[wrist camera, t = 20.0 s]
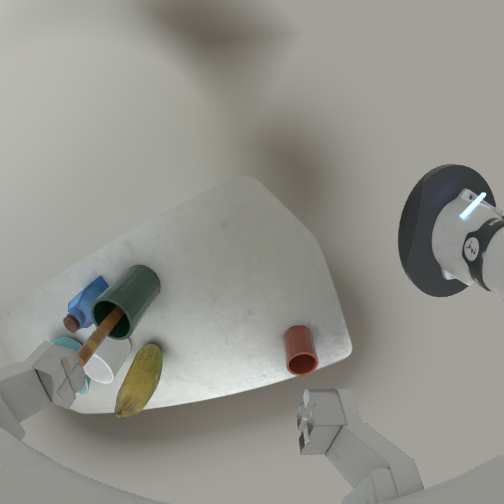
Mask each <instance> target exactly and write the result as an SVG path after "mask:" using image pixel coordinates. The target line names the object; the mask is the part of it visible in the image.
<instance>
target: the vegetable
mask: <svg viewBox="0 0 504 504" xmlns="http://www.w3.org/2000/svg"><path fill="white" fill-rule="evenodd" d="M161 371H162V352H161V350H160V348H159V347H158V346H157V345H155V344H147V345H145V346H143V347H142V348H141V349H140V350H139V351H138V353H137V354H136V356H135V358H134V361H133V363H132V365H131V366H130V369H129V371H128V373H127V375H126V377H125V379H124V382H123V384H122V386H121V388H120V390H119V392H118V395H117V400H116V406H115V415H116V416H117V417H118V418H120V419H126V418H128V417H130V416H132V415H135V414H137V413H139V412H140V411H141V410H142V409H143V408H144V407H145V405H146V404H147V402H148V401H149V399H150V398H151V396H152V395H153V393H154V391H155V390H156V388H157V385H158V382H159V380H160V375H161Z"/></svg>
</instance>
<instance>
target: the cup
mask: <svg viewBox="0 0 504 504" xmlns="http://www.w3.org/2000/svg"><path fill="white" fill-rule="evenodd" d="M159 292H160V282H159V279H158V277H157V276H156V274H155V273H154V272H153V271H152V270H151V269H149V268H148V267H146V266H142V265H135V266H132V267H131V268H129V269H128V270H127V271H126V272H125V273H123V274H122V275H121V276H120V277H119V278H118V279H117V280H116V281H115V282H114V283H113V284H112V285H111V286H110V287H108V288H107V289H106V290H105V291H104V292H103V293H102V294H101V295H100V296H99V297H98V298H97V299H96V300H95V301H94V302H93V304H92V306H91V316H92V320H93V322H94V323H95V325H96V327H97V328H98V326H99V325H100V324H101V323H102V322H103V321H104V319H105V318H106V317H107V316H108V315H109V314H110V313H111V311H112V310H113V309H114V308H115V307H116V306H119V307H120V308H121V309H122V310H123V311H124V312H125V314H124V315H123V316H122V317H121V319H120V320H119V321H118V323H117V324H116V325H115V326H114V328H113V329H112V330H111V332H110V333H109V334H108V335H107V337H109V338H112V339H114V340H124V339H127V338H128V337H129V336H130V335H131V334H132V333H133V331H134V330H135V328H136V327H137V325H138V324H139V322H140V321H141V319H142V318H143V316H144V315H145V314H146V312H147V311H148V309H149V308H150V306H151V305H152V303H153V302H154V301H155V299H156V298H157V296H158V294H159Z"/></svg>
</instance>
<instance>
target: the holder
mask: <svg viewBox="0 0 504 504" xmlns="http://www.w3.org/2000/svg"><path fill="white" fill-rule="evenodd" d="M284 348H285V358H286V367H287V370H288V371H289V372H290V373H291V374H294V375H301V376H302V375H306V374H309V373H311V372H313V371H314V370H315V369H316V368H317V366H318V358H317V354H316V350H315V346H314V342H313V338H312V334H311V332H310V330H309V329H308V328H306V327H303V326H295V327H292V328H290V329H289V330H288V331H287V332H286V333H285V335H284Z"/></svg>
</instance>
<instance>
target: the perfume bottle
mask: <svg viewBox="0 0 504 504" xmlns="http://www.w3.org/2000/svg"><path fill="white" fill-rule="evenodd" d="M107 288H108V285H107V284H106V283H105V281H104V280H103V278H102V277H101V276H99V277H98V278H97V279H96V280H94V281H93V282H92V283H91V284H90V285H88V286H87V287H86V288H85V289H84V290H82V291H81V292H80V293H79V294H78V295H77V296H75V297H74V298H73V299H72V300H71V301H70V302H69V304H68V312H69V313H68V314H67V316H66V318H64V320H63V322H64V325H65V327H66V329H67V330H68V331H70V332H72V333H75V332H76V331H77V330H79V329H80V328H88V327H90V326H91V325H92V324H94V322H93V320H92V316H91V306H92V304H93V302H94V301H95V300H96V299H97V298H98V297H99V296H100V295H101V294H102V293H103V292H104V291H105V290H106V289H107Z"/></svg>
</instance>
